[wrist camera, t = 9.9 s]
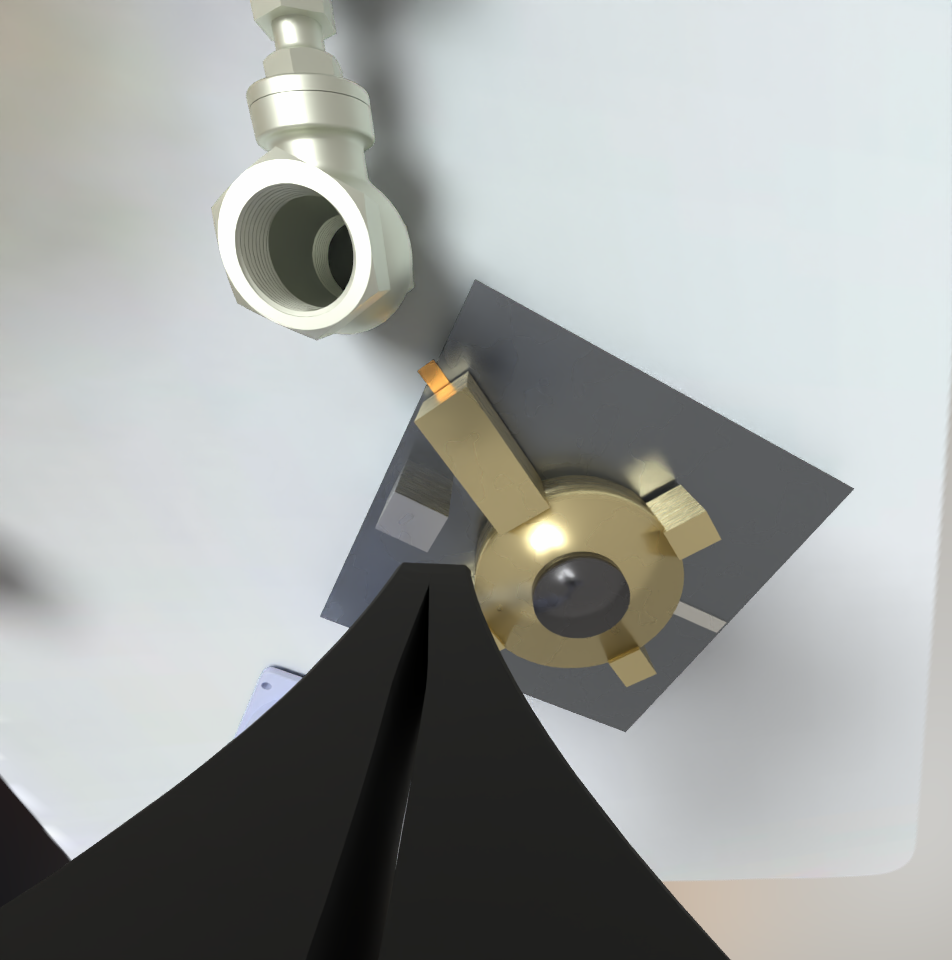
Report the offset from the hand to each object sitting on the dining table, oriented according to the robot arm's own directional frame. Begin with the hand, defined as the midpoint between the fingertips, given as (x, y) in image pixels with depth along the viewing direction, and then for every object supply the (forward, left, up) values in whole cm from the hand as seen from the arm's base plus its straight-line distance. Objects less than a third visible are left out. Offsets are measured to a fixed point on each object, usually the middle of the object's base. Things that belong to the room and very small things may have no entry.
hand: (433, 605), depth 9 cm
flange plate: (-2, -6, -10) cm, 12 cm away
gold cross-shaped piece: (-2, -5, -9) cm, 10 cm away
